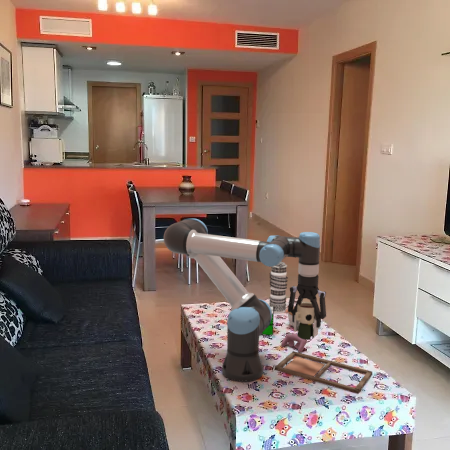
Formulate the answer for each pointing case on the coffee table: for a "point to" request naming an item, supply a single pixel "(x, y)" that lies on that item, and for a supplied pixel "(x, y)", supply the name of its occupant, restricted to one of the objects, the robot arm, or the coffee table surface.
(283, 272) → the decorative candle
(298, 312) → the character mug
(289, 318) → the lidded jar
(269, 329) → the puzzle cube
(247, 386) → the coffee table surface
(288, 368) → the rail frame
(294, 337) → the video game controller
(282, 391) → the coffee table surface
